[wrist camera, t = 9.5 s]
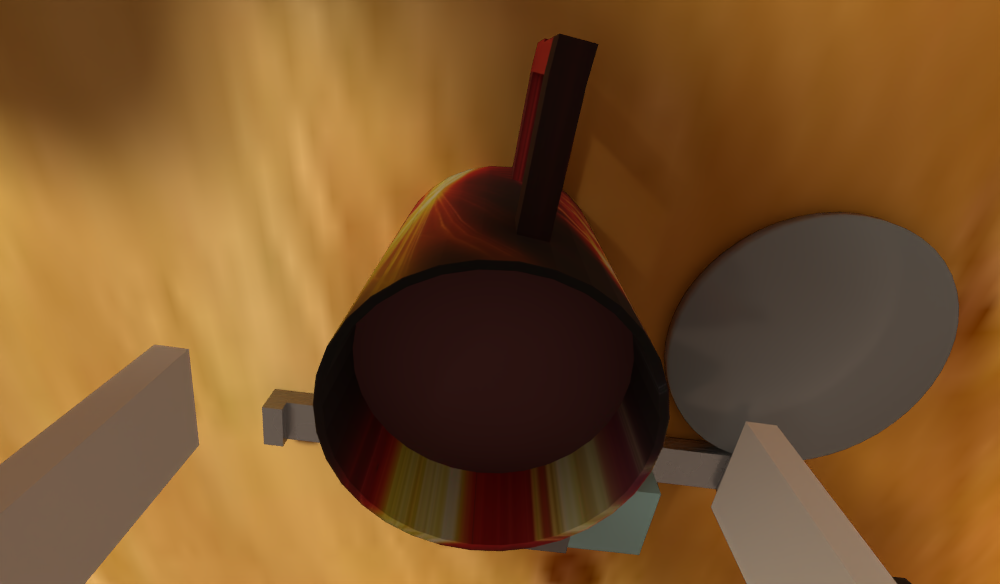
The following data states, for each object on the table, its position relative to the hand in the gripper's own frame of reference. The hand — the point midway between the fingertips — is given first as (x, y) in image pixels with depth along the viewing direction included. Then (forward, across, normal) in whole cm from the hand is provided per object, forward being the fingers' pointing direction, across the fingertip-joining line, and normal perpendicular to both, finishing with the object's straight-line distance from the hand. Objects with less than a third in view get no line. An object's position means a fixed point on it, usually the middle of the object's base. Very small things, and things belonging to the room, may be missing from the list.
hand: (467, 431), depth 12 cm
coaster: (+14, +17, -3) cm, 22 cm away
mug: (+14, 0, +1) cm, 14 cm away
